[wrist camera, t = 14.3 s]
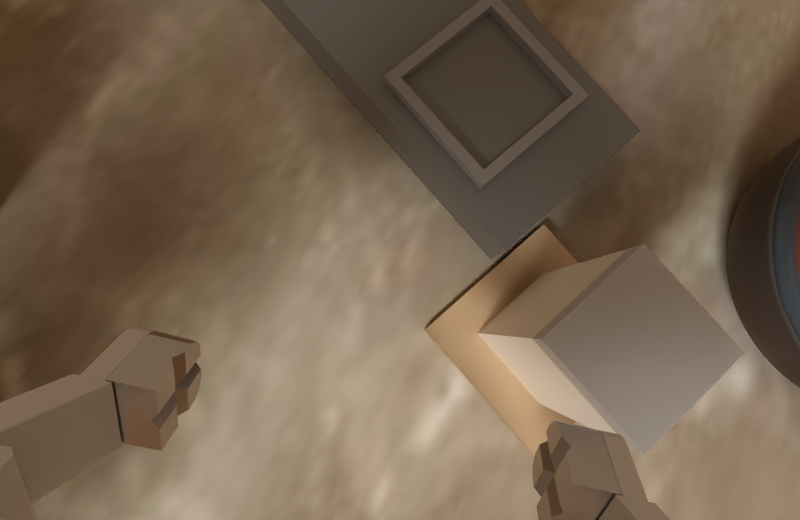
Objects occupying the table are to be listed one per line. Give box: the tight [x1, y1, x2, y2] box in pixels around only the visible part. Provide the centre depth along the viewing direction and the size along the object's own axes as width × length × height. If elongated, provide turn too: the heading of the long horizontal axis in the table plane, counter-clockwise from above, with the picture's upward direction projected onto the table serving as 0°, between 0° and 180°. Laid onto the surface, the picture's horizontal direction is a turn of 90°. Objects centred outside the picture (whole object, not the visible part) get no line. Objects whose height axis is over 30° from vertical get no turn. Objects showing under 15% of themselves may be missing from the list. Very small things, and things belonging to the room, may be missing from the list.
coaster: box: [424, 224, 578, 456], centre depth 26 cm, size 9×9×1 cm
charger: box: [478, 244, 744, 455], centre depth 21 cm, size 5×5×10 cm
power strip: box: [262, 0, 640, 259], centre depth 27 cm, size 10×28×4 cm, turn 41°
